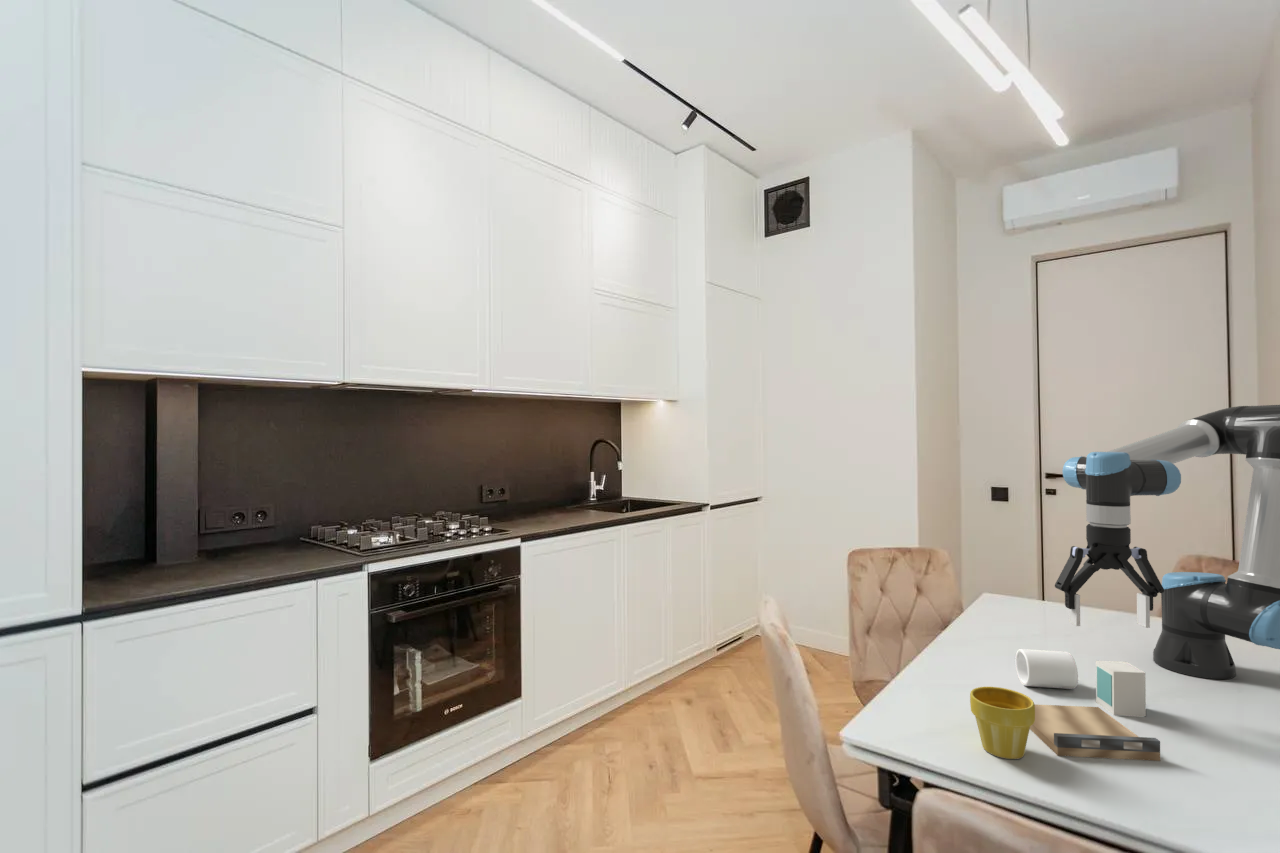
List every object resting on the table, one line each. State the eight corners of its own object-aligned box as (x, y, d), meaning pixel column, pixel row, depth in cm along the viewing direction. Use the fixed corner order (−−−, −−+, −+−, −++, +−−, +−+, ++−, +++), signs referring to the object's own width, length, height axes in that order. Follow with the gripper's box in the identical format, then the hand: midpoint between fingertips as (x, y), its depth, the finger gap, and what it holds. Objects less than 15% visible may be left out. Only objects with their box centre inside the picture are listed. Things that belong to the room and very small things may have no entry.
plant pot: (958, 737, 119) (958, 686, 119) (1009, 735, 120) (1009, 684, 120) (993, 767, 109) (993, 711, 109) (1049, 763, 110) (1049, 708, 110)
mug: (1078, 695, 138) (1078, 659, 138) (1028, 691, 140) (1028, 656, 140) (1054, 674, 150) (1054, 640, 150) (1008, 671, 152) (1008, 638, 152)
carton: (1127, 703, 133) (1126, 661, 133) (1146, 716, 127) (1146, 672, 127) (1095, 702, 134) (1095, 660, 134) (1113, 715, 128) (1112, 671, 128)
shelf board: (1098, 714, 128) (1098, 697, 128) (1160, 761, 110) (1160, 741, 110) (1010, 710, 130) (1010, 693, 130) (1058, 756, 112) (1057, 736, 112)
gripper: (1158, 522, 135) (1159, 620, 135) (1036, 521, 137) (1037, 618, 137) (1185, 528, 127) (1186, 632, 127) (1055, 527, 130) (1056, 629, 130)
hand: (1108, 625), depth 132 cm, fingers open, 13 cm apart
